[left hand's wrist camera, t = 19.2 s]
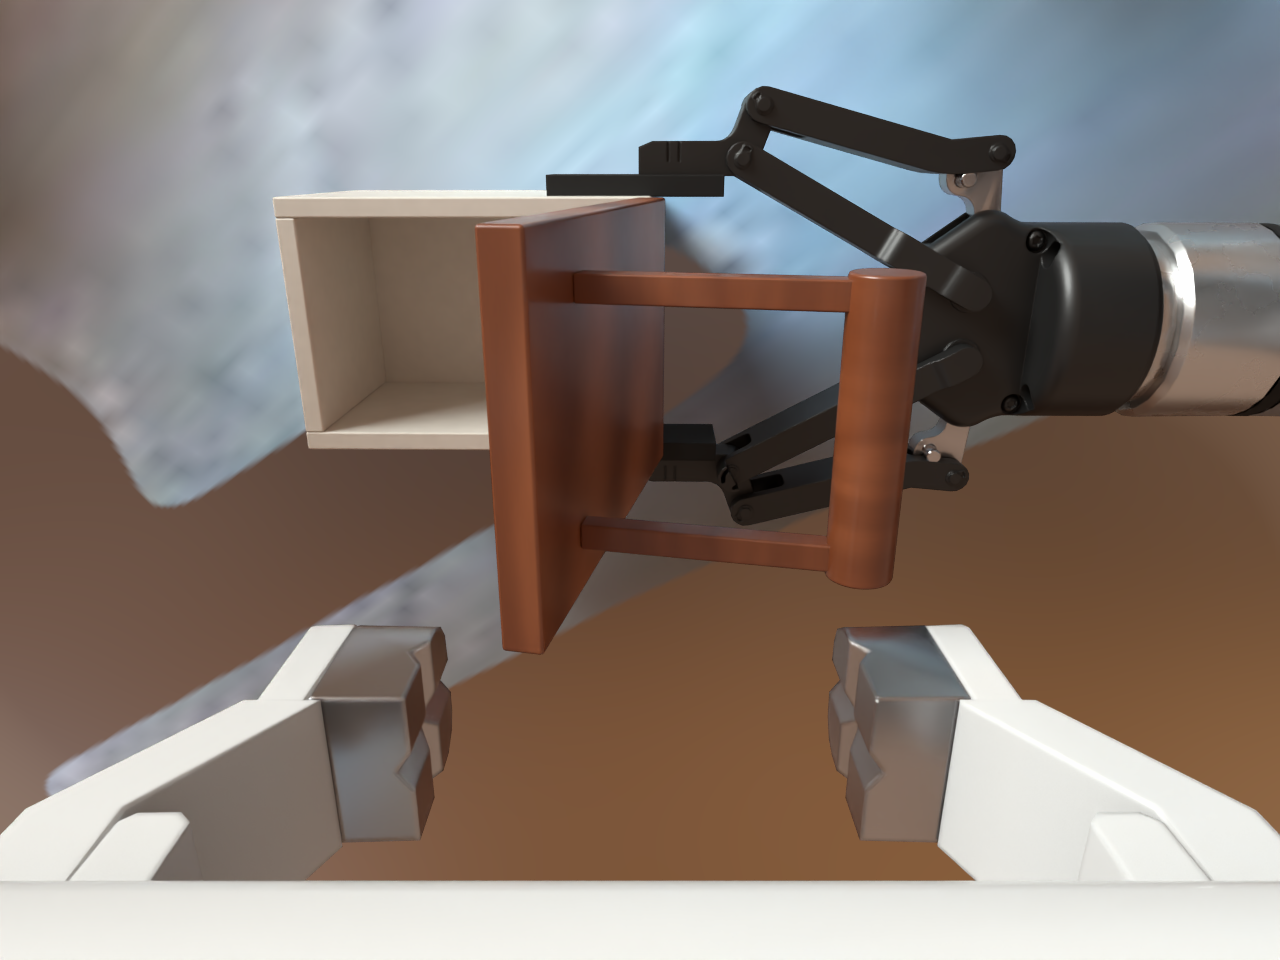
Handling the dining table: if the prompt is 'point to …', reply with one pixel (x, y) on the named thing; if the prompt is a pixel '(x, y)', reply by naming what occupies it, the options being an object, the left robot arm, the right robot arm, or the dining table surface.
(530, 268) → the lid
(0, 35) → the dining table surface
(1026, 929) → the left robot arm
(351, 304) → the chest
